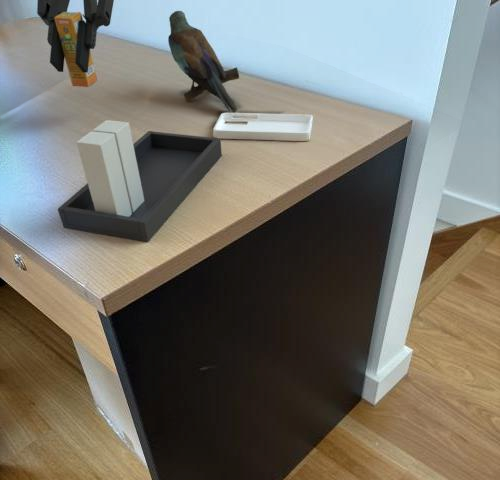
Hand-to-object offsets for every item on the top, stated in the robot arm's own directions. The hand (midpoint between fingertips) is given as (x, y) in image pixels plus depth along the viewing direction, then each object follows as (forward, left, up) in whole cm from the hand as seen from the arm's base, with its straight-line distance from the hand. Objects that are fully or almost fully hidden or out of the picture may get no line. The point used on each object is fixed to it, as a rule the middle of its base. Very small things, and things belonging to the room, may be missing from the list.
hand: (68, 67), depth 79 cm
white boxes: (+20, -24, -9) cm, 33 cm away
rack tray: (+20, -16, -9) cm, 28 cm away
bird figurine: (+15, +18, -9) cm, 25 cm away
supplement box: (-1, +4, -4) cm, 6 cm away
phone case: (+29, +6, -9) cm, 31 cm away
